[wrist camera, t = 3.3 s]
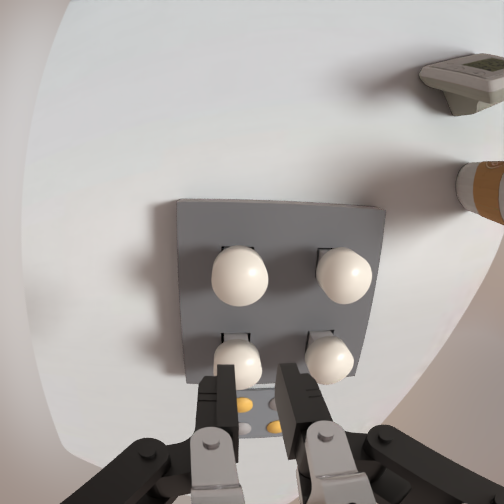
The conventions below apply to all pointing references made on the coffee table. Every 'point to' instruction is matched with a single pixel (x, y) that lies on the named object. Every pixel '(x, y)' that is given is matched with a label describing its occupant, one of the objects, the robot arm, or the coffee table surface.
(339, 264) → the button
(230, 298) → the button
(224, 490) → the robot arm
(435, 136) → the coffee table surface
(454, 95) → the digital clock
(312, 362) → the button
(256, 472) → the coffee table surface
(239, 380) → the button
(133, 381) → the coffee table surface
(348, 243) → the board
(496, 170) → the coffee cup
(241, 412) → the card
